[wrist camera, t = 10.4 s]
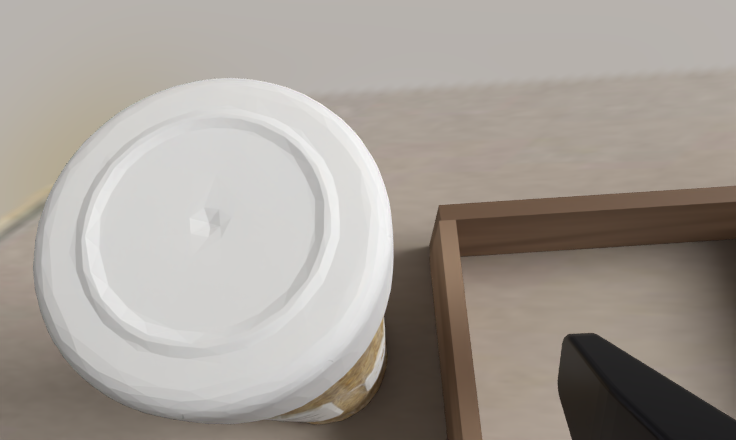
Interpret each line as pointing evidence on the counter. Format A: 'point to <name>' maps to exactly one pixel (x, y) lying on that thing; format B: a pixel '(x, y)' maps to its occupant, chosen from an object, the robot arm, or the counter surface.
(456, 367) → the wooden tray
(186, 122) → the sprinkles bottle
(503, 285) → the counter surface
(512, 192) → the counter surface
